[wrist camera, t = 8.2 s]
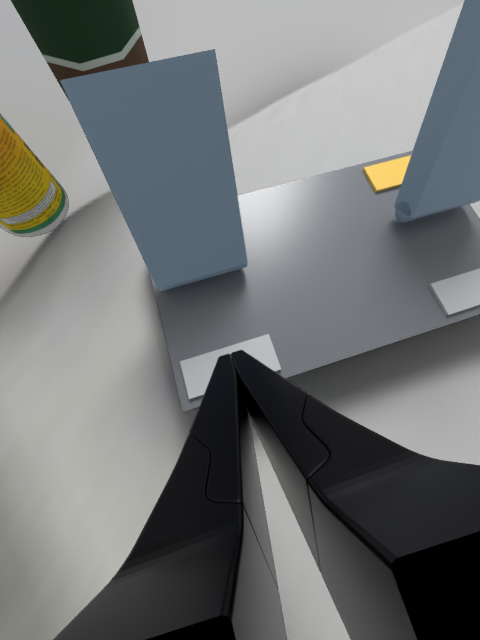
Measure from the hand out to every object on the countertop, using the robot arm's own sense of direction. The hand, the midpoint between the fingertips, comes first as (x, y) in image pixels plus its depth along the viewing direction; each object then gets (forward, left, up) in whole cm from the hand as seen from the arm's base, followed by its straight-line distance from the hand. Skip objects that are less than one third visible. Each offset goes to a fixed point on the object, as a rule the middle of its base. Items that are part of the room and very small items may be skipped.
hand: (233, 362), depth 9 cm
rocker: (+6, 0, -4) cm, 7 cm away
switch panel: (+5, -7, -8) cm, 12 cm away
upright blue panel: (+6, -15, -4) cm, 16 cm away
